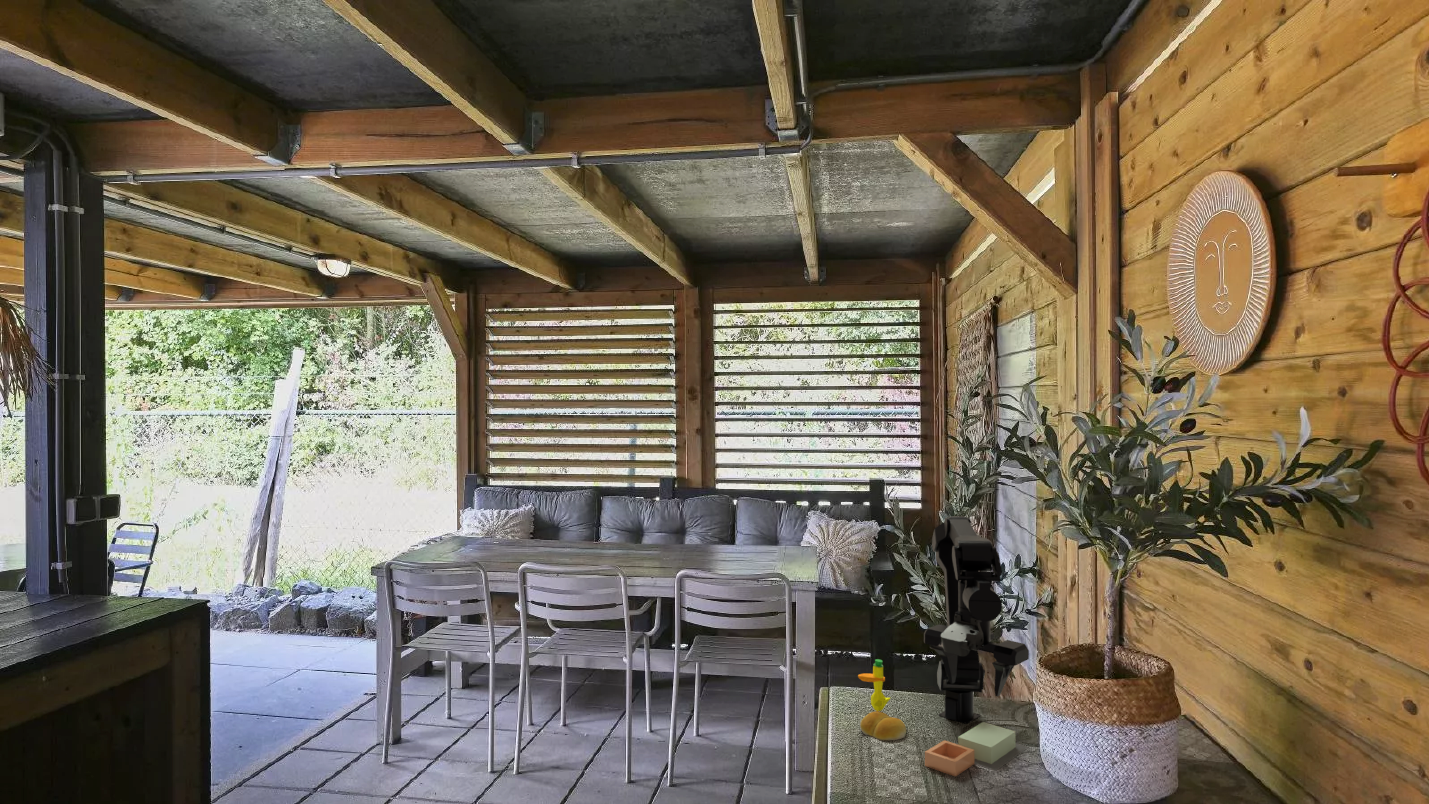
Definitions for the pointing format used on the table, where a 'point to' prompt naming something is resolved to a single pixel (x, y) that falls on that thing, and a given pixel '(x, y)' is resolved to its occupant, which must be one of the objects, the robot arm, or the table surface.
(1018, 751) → the mat
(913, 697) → the table surface
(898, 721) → the bread roll
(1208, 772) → the table surface
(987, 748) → the lid
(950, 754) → the dish
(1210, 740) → the table surface
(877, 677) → the toy figure
